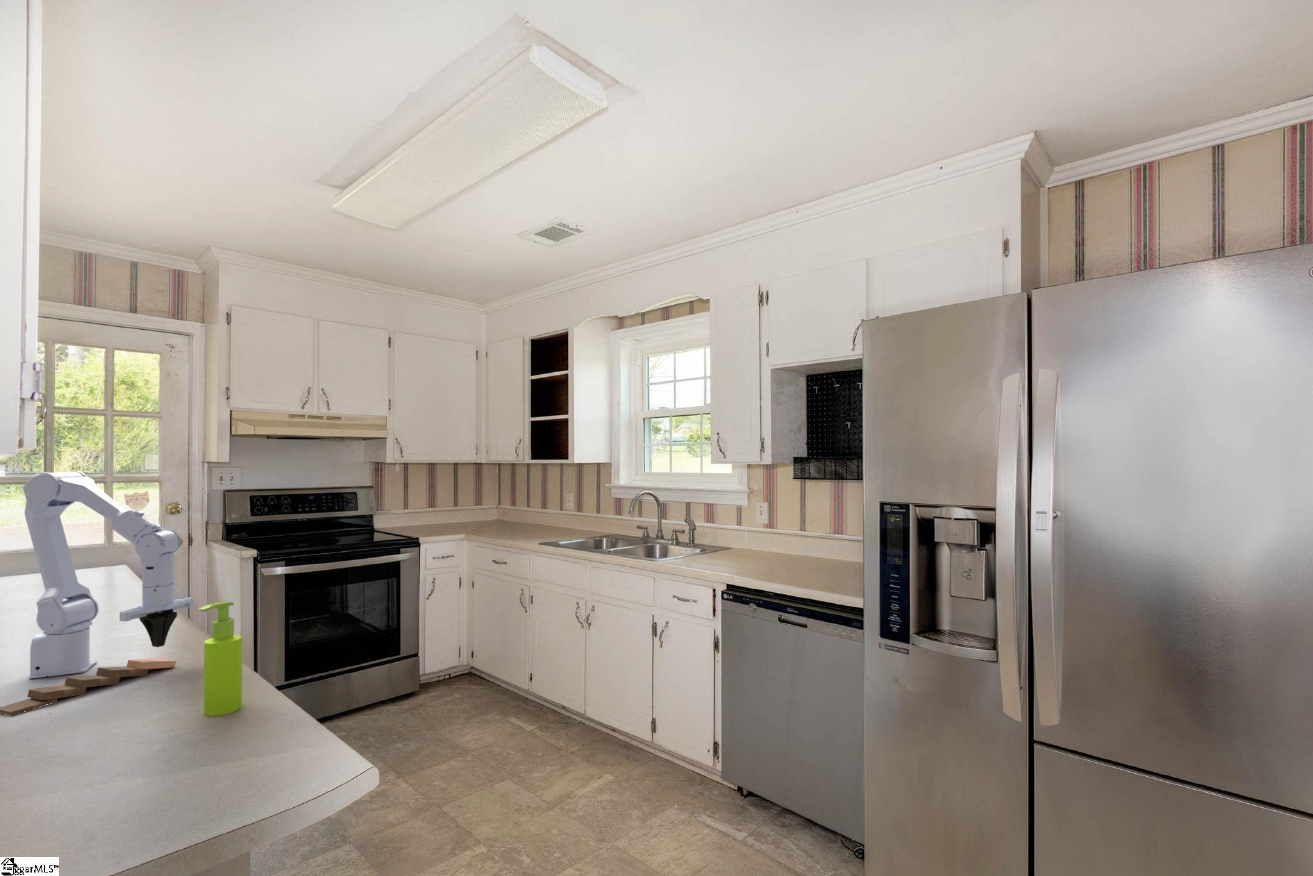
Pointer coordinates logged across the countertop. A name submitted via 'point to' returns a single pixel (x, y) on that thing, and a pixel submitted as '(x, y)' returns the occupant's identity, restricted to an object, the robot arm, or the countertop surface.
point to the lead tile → (151, 663)
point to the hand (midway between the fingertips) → (158, 646)
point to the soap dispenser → (222, 664)
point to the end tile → (24, 706)
